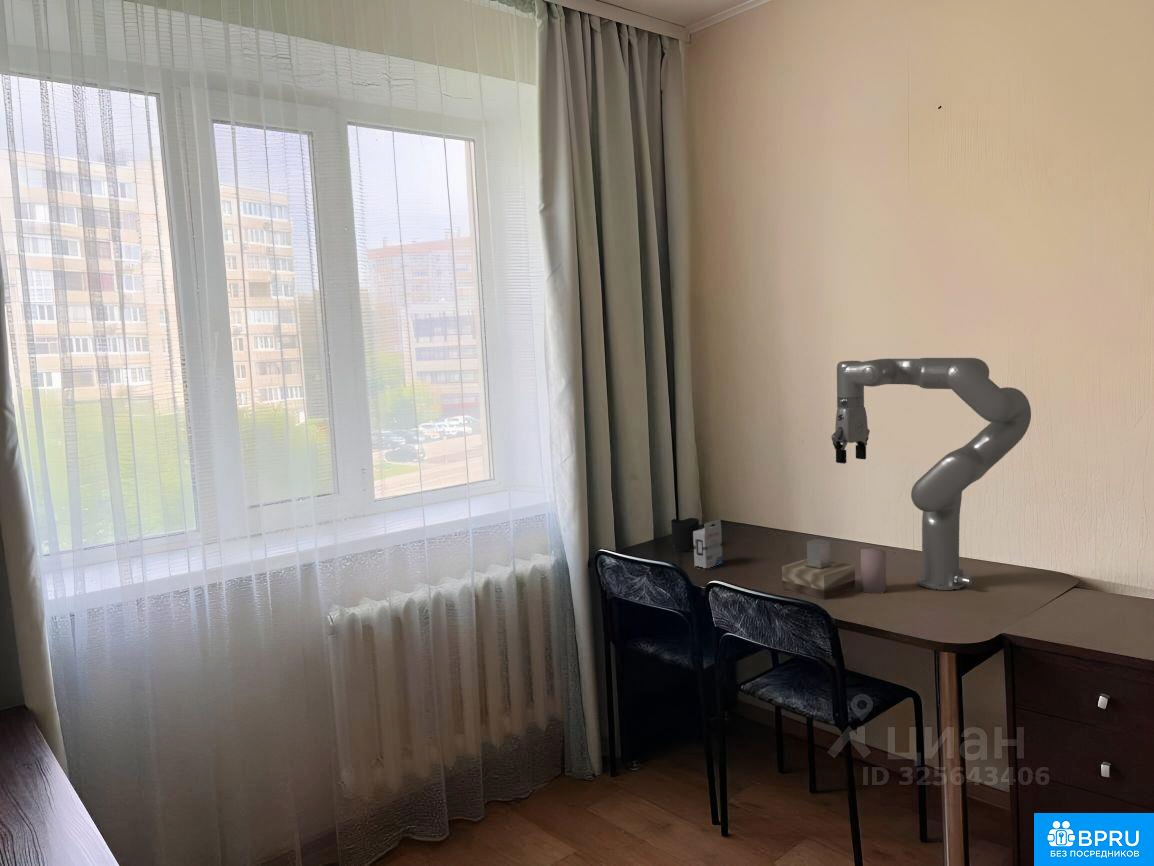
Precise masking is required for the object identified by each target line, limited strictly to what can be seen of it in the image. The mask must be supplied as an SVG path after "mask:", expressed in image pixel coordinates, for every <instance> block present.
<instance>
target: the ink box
mask: <svg viewBox="0 0 1154 866" xmlns="http://www.w3.org/2000/svg"><path fill="white" fill-rule="evenodd" d="M721 522H722V521H721V519H720V518H719V519H716V520H712V521H708V522H705V523H704V527H703V528H701V529H700V528H699V530H697V531H693V541H694V551H693V556H694V557H693V558H694V559H693V560H694V561H693V562H694V567H695V566H699V567H703V568H710V567H713V566H716V565H719V564H721V563H723V541H722V540H723V539H722V536H723V535H722V532H723V531H722V523H721ZM712 525H714V526H712ZM719 566H720V565H719ZM716 567H717V566H716ZM713 568H714V567H713ZM710 569H711V568H710Z"/></svg>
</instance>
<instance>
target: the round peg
mask: <svg viewBox="0 0 1154 866" xmlns="http://www.w3.org/2000/svg"><path fill="white" fill-rule="evenodd" d="M886 557H887V550H884V549H881V548H876V547H875V548H871V547H870V548H863V549H861V550H860V591H862V592H863V591H865V592H864V593H866V592H868V593H867V594H872V593H880V594H882V593H881V592H884V593H886V592H887V576H886V575H887V559H886ZM885 591H886V592H885Z"/></svg>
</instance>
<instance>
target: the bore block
mask: <svg viewBox="0 0 1154 866" xmlns="http://www.w3.org/2000/svg"><path fill="white" fill-rule="evenodd" d="M781 569H782V570H781V571H782V578H781V579H782V581H781V582H782V589H783V588H784V589H783V590H786V589H788V590H787V591H790V590H791V591H790V592H793V591H794V592H793V593H797V592H798V594H801V593H802V595H806V596H809V595H810V597H813V596H814V597H813V598H818V599H822V600H826V598H827V599H830V598H833V597H835V596H837V594H838V595H840V594H839V593H841V594H843V593H845V591H846V592H848V591H847V590H849V591H851V590H850V589H852V590H854V589H856V565H854V564H849V563H844V562H841V561H835V560H831V559H830V567H828V568H825V569H822V570H819V569H814V568H810V567H807V558H805V559H801V560H798V561H795V562H791V563H788V564H785V565H782V566H781ZM853 588H854V589H853ZM842 592H843V593H842ZM834 595H835V596H834ZM829 597H830V598H829Z"/></svg>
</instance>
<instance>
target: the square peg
mask: <svg viewBox="0 0 1154 866" xmlns="http://www.w3.org/2000/svg"><path fill="white" fill-rule="evenodd" d="M806 559H807V567H810V568H814V569H819V570H822V569H825V568H828V567H830V560H831V541H830V540H825V539H820V538H819V539H818V538H815V539H812V540H809V541H806Z"/></svg>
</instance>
